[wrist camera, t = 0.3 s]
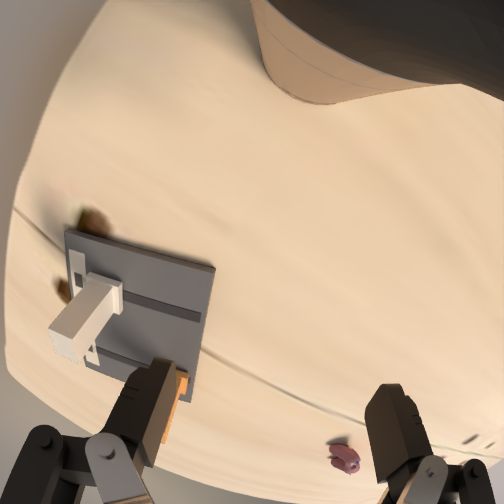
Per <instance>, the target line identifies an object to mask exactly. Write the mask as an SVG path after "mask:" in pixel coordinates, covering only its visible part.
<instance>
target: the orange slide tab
mask: <svg viewBox="0 0 504 504" xmlns="http://www.w3.org/2000/svg"><path fill="white" fill-rule="evenodd" d="M188 377H189V373H186V372H182V371H179V370H176V384H177V388H176V395H175V399H174V403H173V406H172V409H171V412H170V415H169V418H168V421H167V424H166V427H165V430H164V433H163V436H162V440H161V443H163V444H165V442H166V438H167V435H168V431H169V428H170V425H171V422H172V418H173V415H174V412H175V408H176V405H177V402H178V399H179V395H180V393H181V394H184V395H185V393H186V390H187V384H188Z"/></svg>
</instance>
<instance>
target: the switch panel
mask: <svg viewBox="0 0 504 504" xmlns="http://www.w3.org/2000/svg"><path fill="white" fill-rule="evenodd" d="M64 235H65V249H66V260H67V270H68V278H69V286H70V292H71V299H73V298H74V297H75V296H76V295H77V294H78V293H79V292H80V291H81V289H82V288H83V287H84V286H85V285H86V275H87V274H88V273H89V272H92V273H95V274H98V275H101V276H104V277H107V278H110V279H113V280H116V281H119V282H122V296H123V311H122V312H121V314H120V315H118V314H115V313H113V314H112V315H111V317H110V318H109V320H108V321H107V323H106V324H105V326H104V327H103V328H102V330H101V331H100V333H99V334H98V336H97V337H96V339H95V340H94V342H93V343H92V345H91V346H90V348H89V349H88V351H87V352H86V354H85V355H84V361H85V365H86V367H88V368H91V369H93V370H95V371H98V372H100V373H102V374H105V375H107V376H110V377H112V378H115V379H118V380H120V381H123V382H126V381H127V379H128V377H129V375H130V374H131V373H132V372H134V371H135V370H136V369H137V368H138V367H144V368H147V369H149V367H150V365H151V362H152V360H153V359H154V357H160V358H164V359H169V360H173V361H175V368H176V370H179V371H182V372H186V373H189V377H188V384H187V390H186V393H185V395H184V394H181V393H180V395H179V399H178V400H181V401H185V402H189V403H191V399H192V393H193V387H194V382H195V376H196V370H197V364H198V359H199V353H200V348H201V342H202V337H203V332H204V326H205V321H206V316H207V311H208V305H209V300H210V295H211V290H212V285H213V280H214V276H215V271H216V269H215V268H211V267H207V266H203V265H199V264H196V263H192V262H188V261H184V260H180V259H177V258H173V257H169V256H165V255H162V254H158V253H154V252H150V251H147V250H143V249H140V248H136V247H132V246H129V245H125V244H122V243H118V242H114V241H111V240H107V239H104V238H100V237H97V236H93V235H90V234H86V233H83V232H80V231H76V230H73V229H68V230H66V231H65V232H64Z"/></svg>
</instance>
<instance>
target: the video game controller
mask: <svg viewBox="0 0 504 504" xmlns="http://www.w3.org/2000/svg"><path fill="white" fill-rule="evenodd" d="M329 451H330V452H331V453H332V454H333V455H335V456H338V457H340V458H334V459H332V460H331V464H332V465H333V466H334V467H336V468H338V469H340V470H342V471H344V472H345V473H347V474H350V475H351V473H355V472H357V471H359V469H360V464H359V461H360V457H359V455H358V454H357V453H356V451H355V450H353V449H351V448H349V447H348V446H347V447H346V446H343V445H339V444H333V445H331V446H330V447H329Z"/></svg>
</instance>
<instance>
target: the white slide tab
mask: <svg viewBox="0 0 504 504" xmlns="http://www.w3.org/2000/svg"><path fill="white" fill-rule="evenodd" d="M122 311H123V296H122V282H119V281H116V280H113V279H110V278H107V277H104V276H101V275H98V274H95V273H92V272H89V273H88V274H87V275H86V285H85V286H84V287H83V288H82V289H81V291H80V292H79V293H78V294H77V295H76V296H75V297H74V298H73V299H72V300H71V302H70V303H69V304H68V305H67V306H66V307H65V308H64V309H63V311H62V312H61V313H60V314H59V315H58V316H57V318H56V319H55V320H54V321H53V322H52V323H51V325H50V326H49V327H48V331H49V334H50V338H51V341H52V344H53V347H54V350H55V353H57V354H59V355H61V356H63V357H65V358H67V359H69V360H71V361H73V362H75V363H78V364H79V363H80V362H81V360H82V358H83V357H84V355H85V354H86V352H87V351H88V349H89V348H90V346H91V345H92V343H93V342H94V340H95V339H96V337H97V336H98V334H99V333H100V331H101V330H102V328H103V327H104V326H105V324H106V323H107V321H108V320H109V318H110V317H111V315H112V314H113V313H115V314H118V315H120V314H121V312H122Z"/></svg>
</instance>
